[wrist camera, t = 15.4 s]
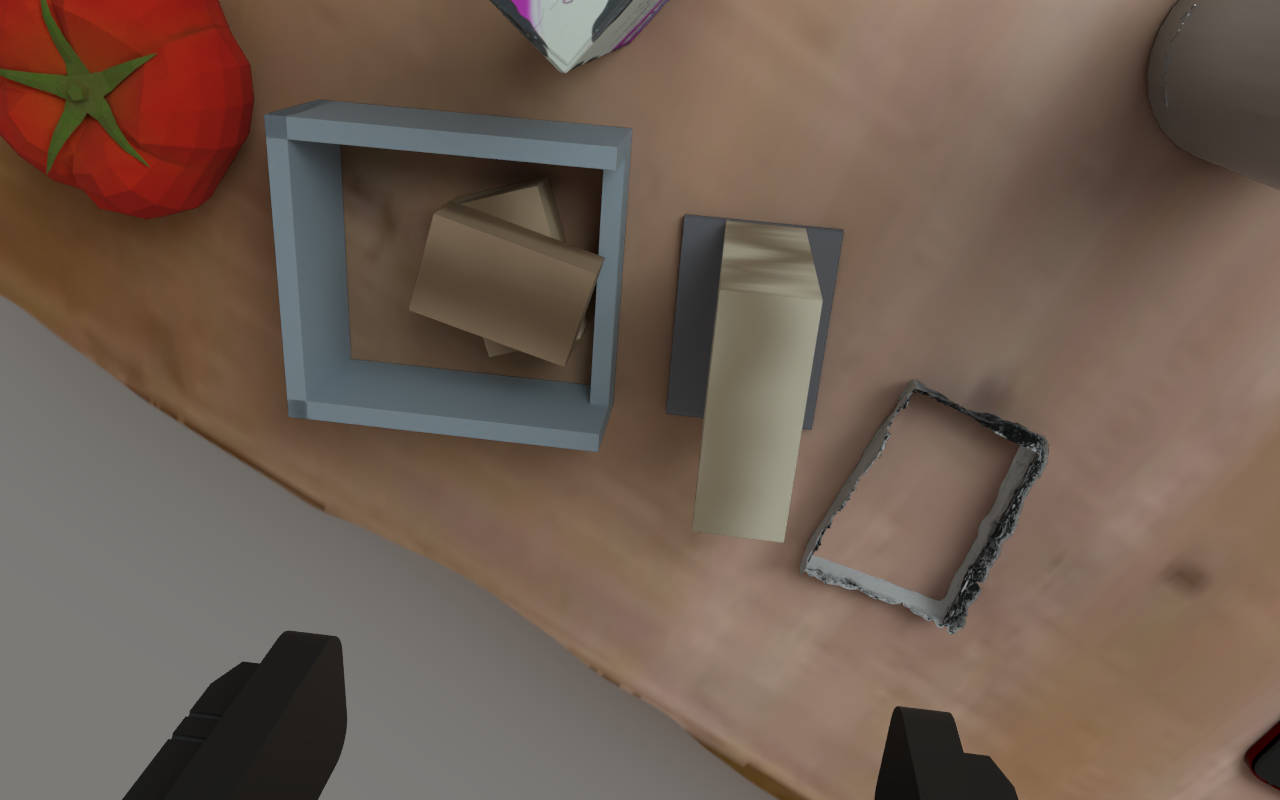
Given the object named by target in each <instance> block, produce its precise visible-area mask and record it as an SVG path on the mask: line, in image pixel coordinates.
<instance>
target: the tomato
mask: <svg viewBox="0 0 1280 800" xmlns="http://www.w3.org/2000/svg"><path fill="white" fill-rule="evenodd" d="M253 103H254V94H253V85H252V75H251V66H250V63H249V62H248V60H247V58H246V57H245V55H244V53H243V52H242V50H241V48H240V46H239V45H238V43H237V41H236V40H235V38H234V36H233V35H232V33H231V31H230V28H229V26H228V23H227V21H226V18H225V16H224V13H223V10H222V8H221V5H220V3H219V0H0V135H1V136H2V138H3V139H4V140H5V141H6V142H7V143H8V144H9V145H10V146H11V147H12V148H13V149H14V150H15V152H16V153H17V154H18V155H19V156H20V157H22V158H23V159H25V160H26V161H27V162H29V163H30V164H32V165H33V166H34V167H36V168H37V169H39V170H40V171H41V172H43V173H44V174H46V175H47V176H48V177H50V178H51V179H53V180H54V181H57V182H60V183H63V184H67V185H70V186H73V187H76V188H79V189H82V190H84V191H85V192H86V194H87V195H88V196H89V197H90V198H91V199H92V200H93V201H94V203H95V204H96V205H97V206H98V207H99V208H100V209H105V210H109V211H114V212H119V213H123V214H127V215H131V216H135V217H139V218H143V219H150V218H156V217H163V216H167V215H171V214H174V213H178V212H182V211H186V210H189V209H193V208H197V207H199V206H200V205H201V204H203V203H204V202H205V201H207V200H208V199H209V198H210V197H211V196H212V194H213V192H214V191H215V189H216V188H217V186H218V184H219V183H220V181H221V179H222V178H223V176H224V175H225V173H226V171H227V170H228V168H229V167H230V165H231V163H232V162H233V160H234V158H235V157H236V155H237V153H238V151H239V150H240V148H241V146H242V144H243V143H244V142H245V140H246V139H247V137H248V134H249V131H250V124H251V117H252V110H253Z"/></svg>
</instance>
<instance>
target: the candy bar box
mask: <svg viewBox="0 0 1280 800" xmlns="http://www.w3.org/2000/svg"><path fill="white" fill-rule="evenodd" d="M490 1H491V2H492V3H493V4H494V5H495V6H496V7H497V8H498V9H499V10H500V11H501V12H502V13H503V15H504V16H505V17H506V18H507V19H508V20H509V21H510V22H511V23H512V24H513V25H514V26H515V27H516V28H517V29H518V30H519V31H520V32H521V33H522V34H523V35H524V36H525V37H526V38H527V39H528V40H529V41H530V42H531V43H532V44H533V45H534V46H535V47H536V48H537V49H538V50H539V51H540V52H541V53H542V54H543V55H544V57H545V58H546V59H547V60H548V61H549V62H551V63H552V64H553V65H554V67H555V68H556V69H557V70H558V71H559V72H561V73H567V72H568V71H569V70H572V69H574V68H575V67H577V66H580V65H583V64H585V63H588V62H591V61H592V60H594V59H597V58H599V57H601V56H603V55H606V54H608V53H610V52H613V51H615V50H617V49H619V48H621V47H623V46H626V45H628V44H630V43H631V41H632V40H633V39H634V38H635V37H636V36H637V35H638V34H639V33H640V32H641V31H642V29H643V28H644V27H645V26H646V25H647V24H648V23H649V22H650V20H651V19H652V18H653V17H654V16H655V15H656V14H657V13H658V12H659V10H660V9H661V8H662V7H663V6H664V5H665V4H666V3H667V1H668V0H490Z"/></svg>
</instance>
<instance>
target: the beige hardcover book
mask: <svg viewBox="0 0 1280 800" xmlns="http://www.w3.org/2000/svg"><path fill="white" fill-rule="evenodd" d="M822 302H823V300H822V295H821V291H820V287H819V283H818V278H817V274H816V270H815V266H814V261H813V257H812V253H811V248H810V244H809V240H808V236H807V231H806V228H796V227H786V226H776V225H766V224H756V223H746V222H736V221H726V226H725V235H724V244H723V253H722V261H721V270H720V279H719V287H718V296H717V305H716V314H715V322H714V331H713V340H712V349H711V357H710V366H709V375H708V383H707V392H706V401H705V410H704V418H703V428H702V438H701V448H700V457H699V467H698V477H697V487H696V496H695V506H694V516H693V526H692V532H699V533H708V534H716V535H724V536H732V537H741V538H749V539H757V540H766V541H774V542H782V543H784V538H785V532H786V526H787V519H788V513H789V507H790V501H791V495H792V488H793V482H794V476H795V470H796V464H797V457H798V451H799V445H800V439H801V433H802V426H803V420H804V414H805V408H806V402H807V395H808V389H809V383H810V377H811V371H812V364H813V358H814V352H815V346H816V340H817V333H818V327H819V321H820V315H821V309H822Z"/></svg>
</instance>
